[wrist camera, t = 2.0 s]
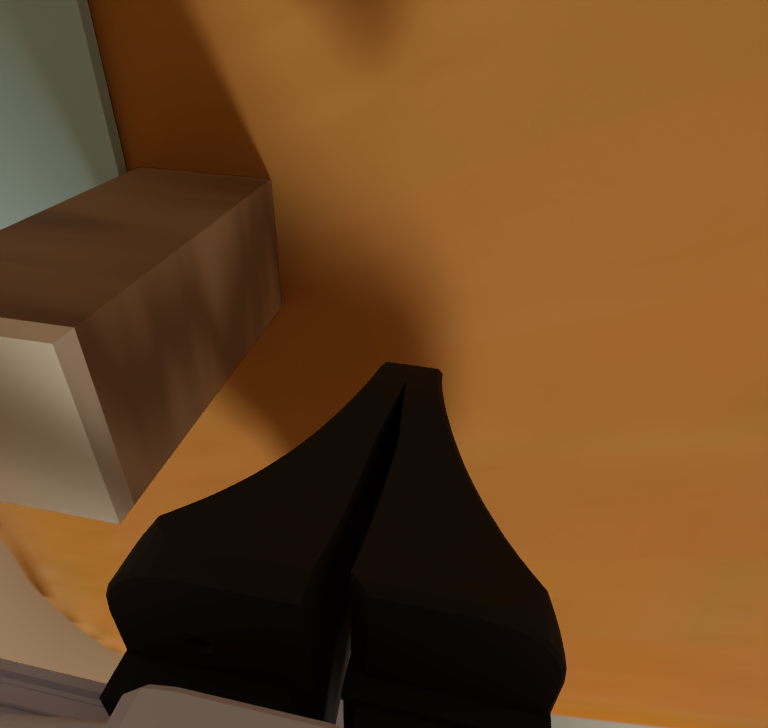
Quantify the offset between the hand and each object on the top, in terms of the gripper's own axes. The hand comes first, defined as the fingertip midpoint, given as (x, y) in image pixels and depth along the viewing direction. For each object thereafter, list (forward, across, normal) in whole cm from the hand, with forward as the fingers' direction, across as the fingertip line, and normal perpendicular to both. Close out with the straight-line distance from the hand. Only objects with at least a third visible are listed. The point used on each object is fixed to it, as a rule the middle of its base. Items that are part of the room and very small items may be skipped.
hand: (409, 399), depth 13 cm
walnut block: (+8, +9, 0) cm, 12 cm away
